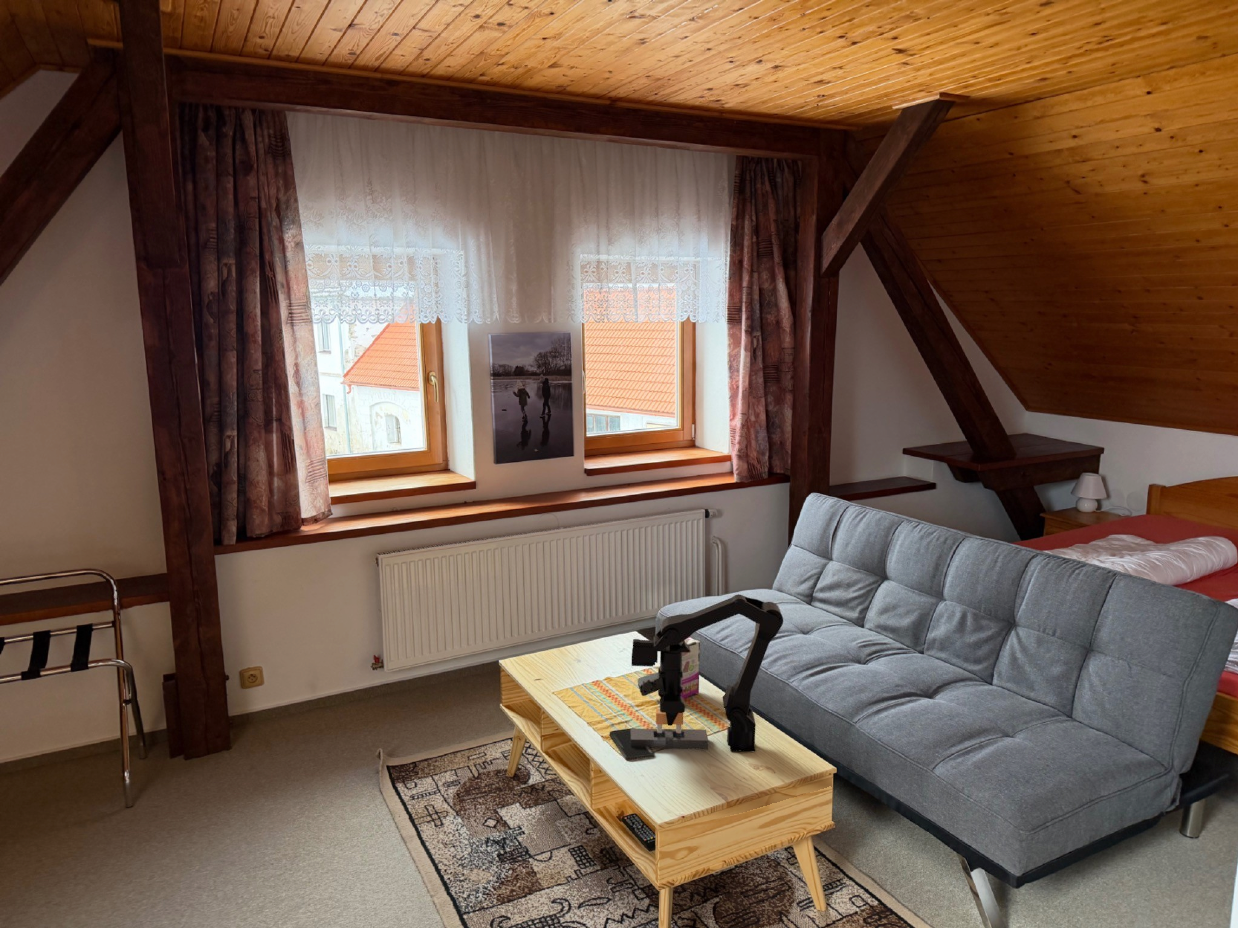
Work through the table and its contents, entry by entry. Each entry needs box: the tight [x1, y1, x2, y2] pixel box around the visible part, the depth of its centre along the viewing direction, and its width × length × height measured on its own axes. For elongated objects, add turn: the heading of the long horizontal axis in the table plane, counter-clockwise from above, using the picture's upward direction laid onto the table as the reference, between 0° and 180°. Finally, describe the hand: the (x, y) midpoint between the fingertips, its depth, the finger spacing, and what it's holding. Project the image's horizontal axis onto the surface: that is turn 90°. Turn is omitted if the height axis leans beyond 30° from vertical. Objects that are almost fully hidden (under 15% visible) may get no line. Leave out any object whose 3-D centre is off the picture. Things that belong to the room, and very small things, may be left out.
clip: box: [655, 708, 684, 733], centre depth 233 cm, size 7×2×6 cm, turn 90°
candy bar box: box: [681, 636, 701, 700], centre depth 262 cm, size 11×5×16 cm, turn 129°
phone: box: [609, 727, 655, 761], centre depth 233 cm, size 8×1×15 cm
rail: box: [630, 728, 709, 750], centre depth 234 cm, size 20×6×2 cm, turn 90°
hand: (669, 722), depth 233 cm, fingers closed on clip, 2 cm apart
